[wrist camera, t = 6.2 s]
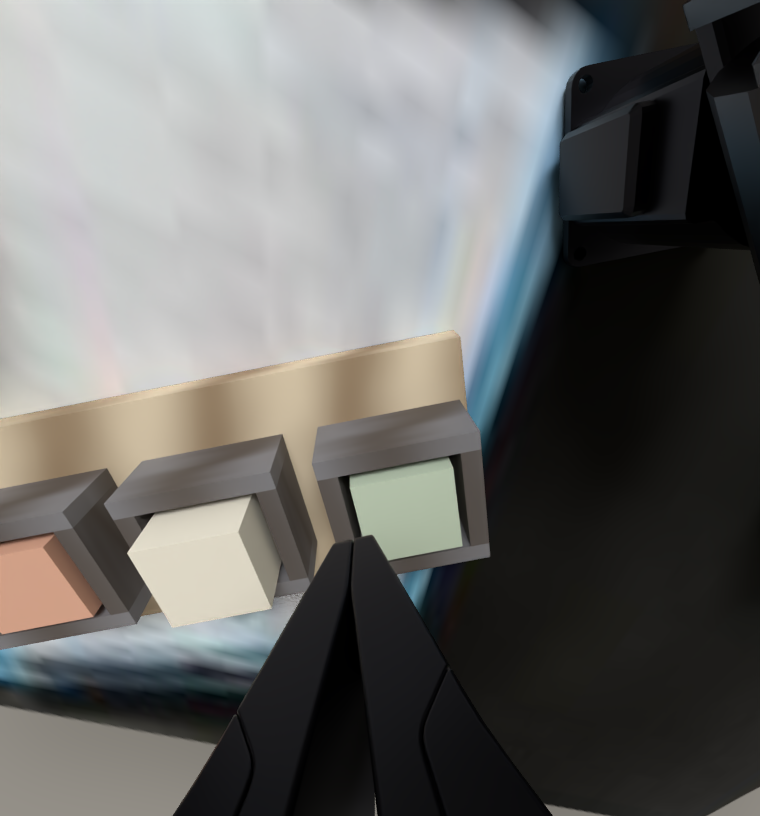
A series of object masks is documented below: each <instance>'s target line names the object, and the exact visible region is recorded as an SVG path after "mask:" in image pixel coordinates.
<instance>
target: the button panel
mask: <svg viewBox="0 0 760 816" xmlns="http://www.w3.org/2000/svg"><path fill="white" fill-rule="evenodd" d="M444 456H448V457H449V459H450V462H451V464H452V466H453V470H454V479H455V487H456V495H457V503H458V512H459V520H460V528H461V537H462V545H463V546H461V547H456V548H451V549H445V550H440V551H435V552H430V553H424V554H419V555H414V556H409V557H403V558H398V559H393V560H388V561H389V563H390V564H391V566H392V568H393V570H394V571H395V573H396V574H402V573H407V572H412V571H417V570H423V569H428V568H433V567H438V566H444V565H449V564H454V563H459V562H465V561H470V560H475V559H480V558H486V557H490V549H489V537H488V524H487V512H486V500H485V488H484V475H483V463H482V451H481V439H480V431H479V429H478V427H477V426H476V424H475V423H474V421H473V420H472V418H471V417H470V415H469V414H468V412H467V403H466V392H465V382H464V371H463V361H462V350H461V340H460V336H459V335H458V334H457V333H456V332H455V331H454V330H452V331H447V332H442V333H436V334H431V335H426V336H421V337H416V338H411V339H406V340H401V341H396V342H391V343H386V344H380V345H375V346H370V347H365V348H360V349H355V350H350V351H345V352H340V353H335V354H330V355H324V356H319V357H314V358H309V359H304V360H299V361H294V362H289V363H284V364H279V365H273V366H268V367H263V368H258V369H253V370H248V371H243V372H238V373H233V374H228V375H223V376H217V377H212V378H207V379H202V380H197V381H192V382H187V383H182V384H177V385H172V386H167V387H161V388H156V389H151V390H146V391H141V392H136V393H131V394H126V395H121V396H116V397H111V398H105V399H100V400H95V401H90V402H85V403H80V404H75V405H70V406H65V407H60V408H54V409H49V410H44V411H39V412H34V413H29V414H24V415H19V416H14V417H9V418H4V419H0V542H4V541H9V540H14V539H19V538H24V537H30V536H35V535H40V534H45V533H50V532H53V533H54V534H55V536H56V537H57V539H58V540H59V542H60V543H61V545H62V546H63V547H64V549H65V550H66V552H67V553H68V555H69V556H70V557H71V559H72V560H73V562H74V563H75V565H76V566H77V567H78V569H79V570H80V572H81V573H82V575H83V576H84V578H85V579H86V580H87V582H88V583H89V585H90V586H91V588H92V589H93V590H94V592H95V593H96V595H97V596H98V598H99V599H100V601H101V602H102V605H101V606H100V608H99V609H98V611H97V612H96V614H95V615H94V617H90V618H85V619H80V620H75V621H69V622H64V623H59V624H54V625H48V626H43V627H38V628H33V629H28V630H22V631H17V632H12V633H7V634H1V633H0V650H2V649H7V648H12V647H18V646H23V645H28V644H33V643H39V642H44V641H49V640H54V639H60V638H65V637H70V636H76V635H81V634H86V633H91V632H97V631H102V630H107V629H112V628H118V627H123V626H128V625H133V624H137V622H138V620H139V619H140V617H141V616H144V615H149V614H155V613H160V612H163V611H162V610H161V608H160V606H159V605H158V603H157V602H156V600H155V598H154V597H153V595H152V593H151V592H150V590H149V588H148V587H147V585H146V584H145V582H144V580H143V579H142V577H141V575H140V574H139V572H138V570H137V569H136V567H135V565H134V564H133V562H132V561H131V559H130V557H129V556H128V554H127V553H128V551H129V550H130V548H131V547H132V545H133V544H134V542H135V541H136V540H137V538H138V537H139V535H140V534H141V532H142V531H143V529H144V528H145V526H146V525H147V523H148V522H149V521H150V519H151V518H152V516H153V515H154V513H155V512H159V511H164V510H169V509H175V508H180V507H185V506H190V505H195V504H201V503H206V502H211V501H216V500H221V499H226V498H232V497H237V496H242V495H247V494H252V493H256V495H257V498H258V500H259V503H260V505H261V508H262V510H263V513H264V516H265V518H266V521H267V523H268V526H269V528H270V531H271V534H272V536H273V539H274V541H275V544H276V547H277V549H278V552H279V554H280V557H281V559H282V561H281V566H280V570H279V575H278V580H277V585H276V590H275V595H274V598H275V597H281V596H286V595H291V594H296V593H302V592H306V590H307V588H308V587H309V585H310V583H311V581H312V580H313V578H314V576H315V574H316V573H317V571H318V569H319V567H320V566H321V564H322V562H323V561H324V559H325V557H326V555H327V554H328V552H329V550H330V548H331V547H332V545H333V544H334V543H336V542H340V541H345V540H349V539H351V540H353V541H354V540H355V538H358V537H362V532H361V529H360V525H359V521H358V517H357V513H356V509H355V506H354V502H353V498H352V494H351V490H350V475H351V474H356V473H361V472H366V471H372V470H377V469H382V468H387V467H392V466H397V465H403V464H408V463H413V462H418V461H423V460H428V459H434V458H439V457H444Z"/></svg>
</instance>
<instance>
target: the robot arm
mask: <svg viewBox="0 0 760 816" xmlns="http://www.w3.org/2000/svg"><path fill="white" fill-rule="evenodd" d="M682 6H683V9H684V13H685V16H686V20H687V24H688V27H689V31H692V30H694V29H695V30H696V33H697V37H698V41H699V43H696V44H691V45H686V46H681V47H676V48H671V49H666V50H661V51H656V52H651V53H646V54H641V55H636V56H632V57H627V58H622V59H617V60H612V61H607V62H602V63H597V64H592V65H587V66H585V67H582V68H580V69H579V70H578V71H576V72H575V73H574V74H573V75H572V76H571V77H570V78H569V80H568V82H567V86H566V100H565V136H564V138H563V139H562V141H561V143H560V188H559V215H560V216H561V217H562V218H563V259H564V261H565V263H566V264H567V265H569V266H574V267H581V266H586V265H591V264H596V263H601V262H606V261H611V260H616V259H621V258H626V257H632V256H637V255H642V254H647V253H652V252H657V251H662V250H667V249H672V248H677V247H698V248H718V249H737V250H750V251H751V255H752V258H753V262H754V266H755V269H756V273H757V276H758V280H759V284H760V0H688V1H687V2H686V3H685V4H683V5H682ZM580 79H584V80H585V81H586V84H587V88H586V92H585V93H582V92H581V91H580V90H579V86H578V85H579V81H580ZM577 248H580V249H581V254H580V256H579V258H578V259H575V258H574V252H575V250H576V249H577ZM237 713H238V715H235V716H233V718H232V720H231V722H230V723H229V725H228V727H227V728H226V730H225V732H224V734H223V735H222V737H221V739H220V741H219V742H218V744H217V746H216V747H215V749H214V751H213V752H212V754H211V756H210V757H209V759H208V761H207V762H206V764H205V766H204V767H203V769H202V770H201V772H200V774H199V775H198V777H197V779H196V780H195V782H194V784H193V785H192V787H191V788H190V790H189V791H188V793H187V795H186V796H185V798H184V799H183V801H182V802H181V804H180V805H179V807H178V808H177V810H176V811H175V813H174V814H173V816H375V798H376V807H377V814H378V816H552V814H551V813H550V811H549V810H548V809H547V807H546V806H545V805H544V803H543V802H542V801H541V799H540V798H539V797H538V795H537V794H536V793H535V791H534V790H533V789H532V787H531V786H530V785H529V783H528V782H527V781H526V780H525V778H524V777H523V776H522V774H521V773H520V772H519V770H518V769H517V768H516V766H515V765H514V764H513V762H512V761H511V759H510V758H509V757H508V755H507V754H506V752H505V751H504V750H503V748H502V747H501V745H500V744H499V743H498V741H497V740H496V738H495V737H494V736H493V734H492V733H491V731H490V730H489V729H488V727H487V726H486V724H485V723H484V721H483V720H482V718H481V716H480V715H479V713H478V712H477V710H476V708H475V707H474V705H473V704H472V702H471V700H470V699H469V697H468V696H467V694H466V692H465V691H464V689H463V687H462V686H461V684H460V682H459V681H458V679H457V677H456V675H455V674H454V672H453V670H451V669H450V666H449V664H448V662H447V660H446V659H445V657H444V655H443V654H442V652H441V650H440V648H439V647H438V645H437V643H436V642H435V640H434V638H433V636H432V635H431V633H430V631H429V630H428V628H427V626H426V624H425V623H424V621H423V619H422V618H421V616H420V614H419V612H418V611H417V609H416V607H415V606H414V604H413V602H412V600H411V599H410V597H409V595H408V594H407V592H406V590H405V588H404V587H403V585H402V583H401V582H400V580H399V578H398V576H397V575H396V573H395V571H394V570H393V568H392V566H391V564H390V563H389V561H388V559H387V558H386V556H385V554H384V552H383V551H382V549H381V547H380V546H379V544H378V542H377V540H376V539H375V537H374V536H373V535H366V536H362V537H358V538H355V540H354V541H353V540H351V539H349V540H345V541H340V542H336V543H334V544H333V545H332V547H331V548H330V550H329V552H328V554H327V555H326V557H325V559H324V561H323V562H322V564H321V566H320V567H319V569H318V571H317V573H316V574H315V576H314V578H313V580H312V581H311V583H310V585H309V587H308V588H307V590H306V592H305V593H304V595H303V597H302V599H301V600H300V602H299V604H298V606H297V607H296V609H295V611H294V613H293V614H292V616H291V618H290V620H289V621H288V623H287V625H286V626H285V628H284V630H283V632H282V633H281V635H280V637H279V639H278V640H277V642H276V644H275V646H274V647H273V649H272V651H271V652H270V654H269V656H268V658H267V659H266V661H265V663H264V665H263V666H262V668H261V670H260V672H259V673H258V675H257V677H256V679H255V680H254V682H253V684H252V685H251V687H250V689H249V691H248V692H247V694H246V696H245V698H244V699H243V701H242V703H241V705H240V706H239V708H238V710H237Z"/></svg>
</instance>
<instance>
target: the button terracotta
mask: <svg viewBox="0 0 760 816" xmlns="http://www.w3.org/2000/svg"><path fill="white" fill-rule="evenodd" d="M101 605H102V602H101V601H100V599H99V598H98V596H97V595H96V593H95V592H94V590H93V589H92V588H91V586H90V585H89V583H88V582H87V580H86V579H85V578H84V576H83V575H82V573H81V572H80V570H79V569H78V567H77V566H76V565H75V563H74V562H73V560H72V559H71V557H70V556H69V555H68V553H67V552H66V550H65V549H64V547H63V546H62V545H61V543H60V542H59V540H58V539H57V537H56V536H55V534H54V533H53V532H50V533H45V534H40V535H35V536H30V537H24V538H19V539H14V540H9V541H4V542H0V633H1V634H7V633H12V632H17V631H22V630H28V629H33V628H38V627H43V626H48V625H54V624H59V623H64V622H69V621H75V620H80V619H85V618H90V617H94V615H95V614H96V612H97V611H98V609H99V608H100V606H101Z"/></svg>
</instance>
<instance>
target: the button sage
mask: <svg viewBox="0 0 760 816" xmlns="http://www.w3.org/2000/svg"><path fill="white" fill-rule="evenodd" d="M350 490H351V494H352V498H353V502H354V506H355V509H356V513H357V517H358V521H359V525H360V529H361V532H362V536H366V535H373V536H374V537H375V539H376V540H377V542H378V544H379V546H380V547H381V549H382V551H383V552H384V554H385V556H386V558H387V559H388V560H393V559H398V558H403V557H409V556H414V555H419V554H424V553H430V552H435V551H440V550H445V549H451V548H456V547H461V546H463V545H462V537H461V528H460V520H459V512H458V503H457V495H456V487H455V479H454V470H453V466H452V464H451V462H450V459H449V457H448V456H444V457H439V458H434V459H428V460H423V461H418V462H413V463H408V464H403V465H397V466H392V467H387V468H382V469H377V470H372V471H366V472H361V473H356V474H351V475H350Z"/></svg>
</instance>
